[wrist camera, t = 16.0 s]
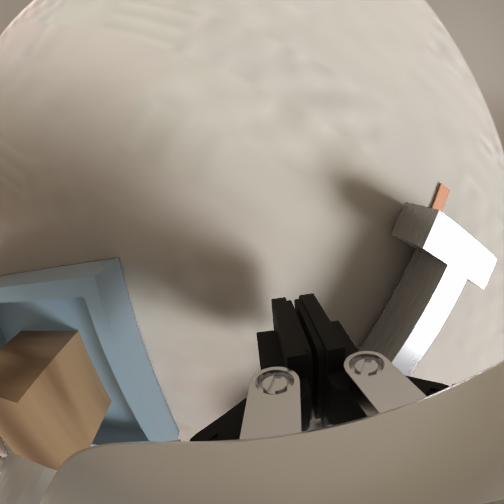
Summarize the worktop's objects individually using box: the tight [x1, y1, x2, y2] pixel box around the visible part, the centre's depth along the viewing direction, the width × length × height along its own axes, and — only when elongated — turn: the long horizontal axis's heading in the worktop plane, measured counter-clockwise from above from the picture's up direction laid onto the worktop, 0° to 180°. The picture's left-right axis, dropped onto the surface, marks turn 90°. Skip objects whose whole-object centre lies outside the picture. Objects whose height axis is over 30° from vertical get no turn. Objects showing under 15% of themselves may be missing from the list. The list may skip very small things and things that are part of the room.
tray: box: [0, 258, 179, 447], centre depth 12 cm, size 12×12×2 cm
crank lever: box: [307, 202, 497, 431], centre depth 12 cm, size 15×5×3 cm, turn 156°
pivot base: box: [432, 184, 450, 212], centre depth 14 cm, size 6×18×1 cm, turn 147°
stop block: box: [0, 330, 112, 470], centre depth 10 cm, size 5×5×6 cm
